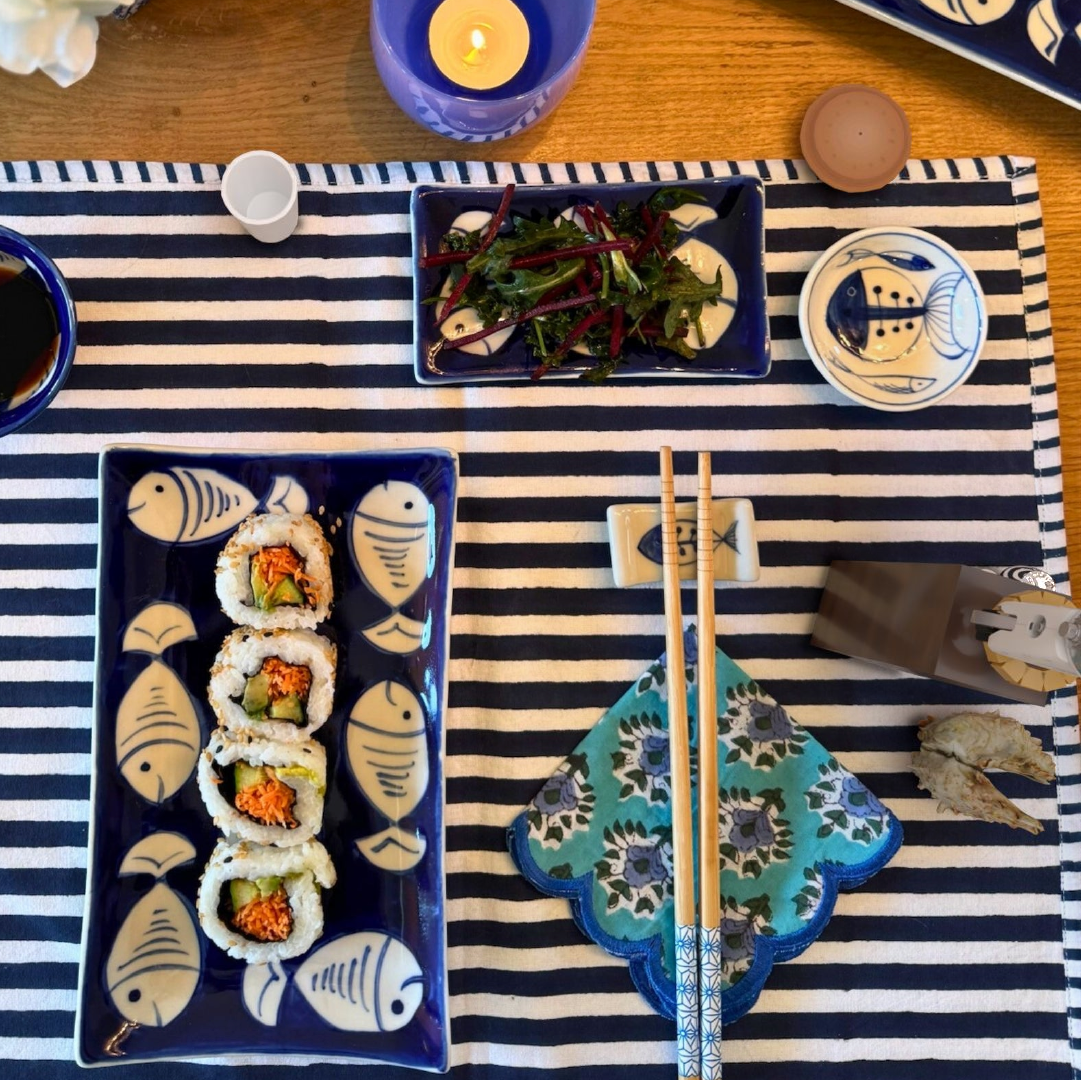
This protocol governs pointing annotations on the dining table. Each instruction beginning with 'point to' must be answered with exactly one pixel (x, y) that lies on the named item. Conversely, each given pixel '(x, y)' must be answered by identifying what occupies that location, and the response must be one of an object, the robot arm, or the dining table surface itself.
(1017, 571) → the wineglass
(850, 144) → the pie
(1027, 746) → the seashell
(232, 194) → the cup
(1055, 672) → the ring
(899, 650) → the peg stand
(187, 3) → the dining table surface
